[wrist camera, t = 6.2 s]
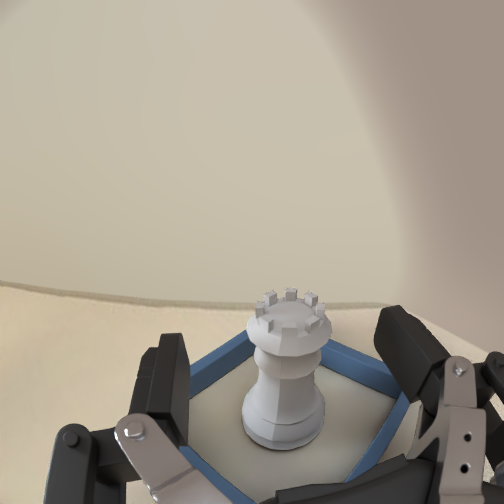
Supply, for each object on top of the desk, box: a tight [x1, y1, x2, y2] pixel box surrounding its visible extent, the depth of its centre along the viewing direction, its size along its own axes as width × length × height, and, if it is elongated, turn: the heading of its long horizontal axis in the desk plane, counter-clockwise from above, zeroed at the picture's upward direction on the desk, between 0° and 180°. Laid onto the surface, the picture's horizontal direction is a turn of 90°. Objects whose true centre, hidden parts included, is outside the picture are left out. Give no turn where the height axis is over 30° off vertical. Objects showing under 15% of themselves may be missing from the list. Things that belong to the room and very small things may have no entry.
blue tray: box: [179, 330, 410, 504], centre depth 13 cm, size 12×12×2 cm
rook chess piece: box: [242, 288, 332, 450], centre depth 11 cm, size 4×4×8 cm
